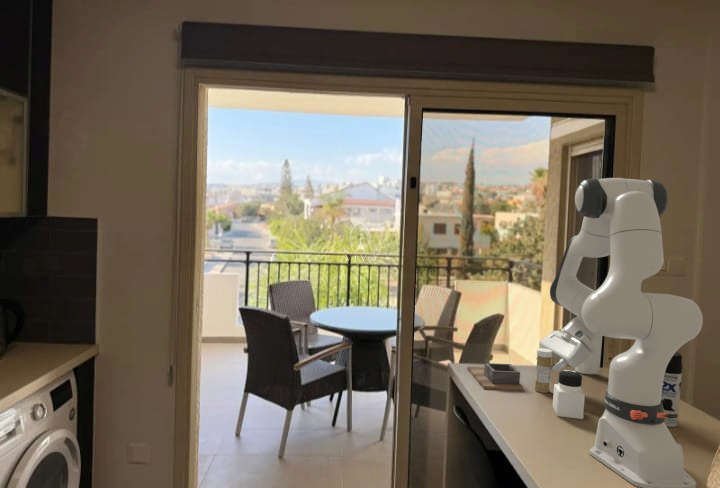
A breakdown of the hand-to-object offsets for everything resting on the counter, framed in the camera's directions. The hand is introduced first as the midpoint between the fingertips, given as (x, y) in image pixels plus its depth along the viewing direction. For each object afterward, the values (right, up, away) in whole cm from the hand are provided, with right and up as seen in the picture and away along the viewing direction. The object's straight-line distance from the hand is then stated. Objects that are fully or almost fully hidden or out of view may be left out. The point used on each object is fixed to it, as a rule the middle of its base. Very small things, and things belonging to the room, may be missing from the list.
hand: (545, 365), depth 161 cm
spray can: (+25, -11, -21) cm, 35 cm away
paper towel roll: (+23, -8, +23) cm, 33 cm away
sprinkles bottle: (-1, -8, 0) cm, 9 cm away
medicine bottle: (0, -10, -18) cm, 20 cm away
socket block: (-14, -7, +10) cm, 18 cm away
